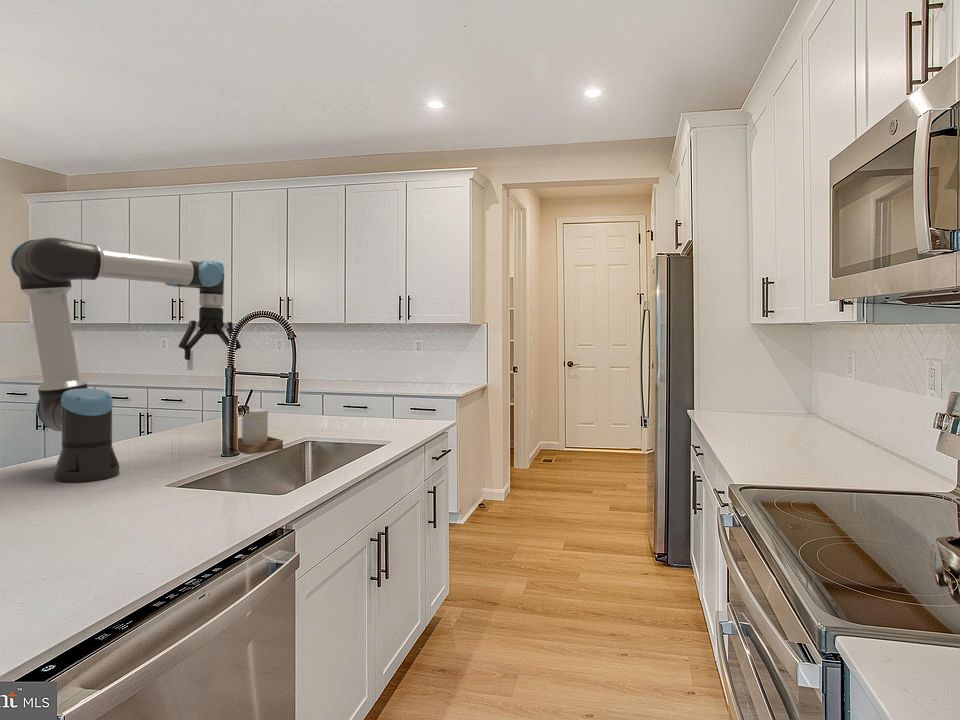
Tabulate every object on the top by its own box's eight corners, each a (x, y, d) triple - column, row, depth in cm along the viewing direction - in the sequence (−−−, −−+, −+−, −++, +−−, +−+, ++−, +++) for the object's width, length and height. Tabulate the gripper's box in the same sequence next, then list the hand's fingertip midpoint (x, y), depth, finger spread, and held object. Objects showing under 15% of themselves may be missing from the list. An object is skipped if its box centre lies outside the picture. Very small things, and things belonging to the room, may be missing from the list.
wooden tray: (247, 454, 203) (247, 444, 203) (227, 448, 211) (227, 439, 211) (282, 448, 213) (282, 440, 213) (262, 443, 221) (262, 435, 221)
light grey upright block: (251, 448, 206) (251, 412, 206) (237, 445, 211) (237, 410, 211) (272, 445, 213) (272, 410, 212) (258, 441, 218) (258, 407, 217)
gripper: (177, 304, 198) (176, 370, 199) (251, 309, 217) (250, 369, 218) (168, 305, 204) (167, 369, 204) (241, 308, 222) (240, 368, 223)
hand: (210, 369), depth 211 cm, fingers open, 13 cm apart
